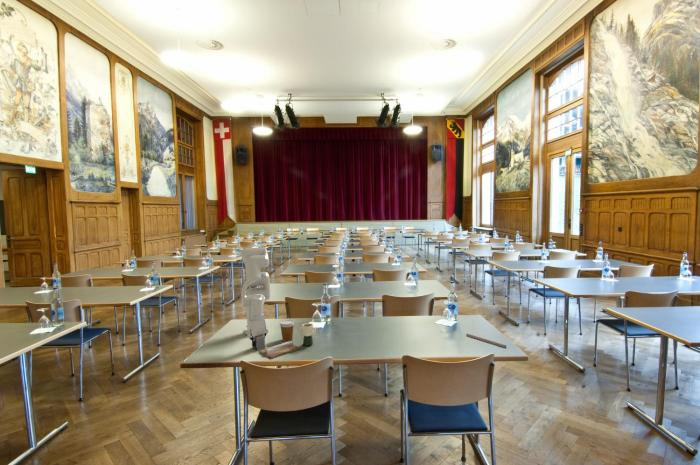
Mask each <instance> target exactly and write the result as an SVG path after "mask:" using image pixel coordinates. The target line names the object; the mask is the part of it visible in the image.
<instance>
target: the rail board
mask: <svg viewBox="0 0 700 465" xmlns="http://www.w3.org/2000/svg"><path fill="white" fill-rule="evenodd" d="M298 350H300V346H298V345H295V344H294V341H292V340H291V341H283V342H281V343H278V344H275V345H272V346H268V347H265V349H262V350H259V351H258V352H259V354H262V355H263V356H265V357H267V358H270V359H271V360H272V359H276V358H278V357H280V356H284V355H287V354H290V353H293V352H296V351H298Z"/></svg>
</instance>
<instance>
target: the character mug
mask: <svg viewBox="0 0 700 465" xmlns="http://www.w3.org/2000/svg"><path fill="white" fill-rule="evenodd" d="M298 330H299V333H301V335H302V336H303V341H302V342H303V343H302V344H303V345H304V346H306V347H307V346H312V345H313V344H314V341H313V335H314V334H315V333H317V328H316V327H314V324H313V323H310V322H305V323H303V324H301V326H300V327H299V329H298Z"/></svg>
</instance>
